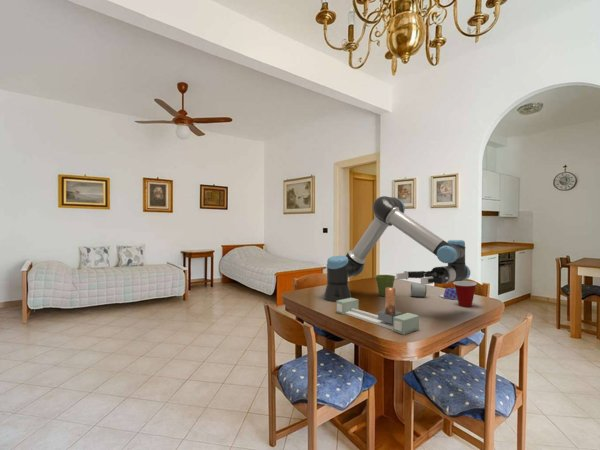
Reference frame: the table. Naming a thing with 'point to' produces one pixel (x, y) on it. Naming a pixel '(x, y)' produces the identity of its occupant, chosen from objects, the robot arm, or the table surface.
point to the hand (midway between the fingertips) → (408, 278)
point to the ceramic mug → (418, 290)
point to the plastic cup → (465, 292)
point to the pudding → (450, 293)
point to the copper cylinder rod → (389, 306)
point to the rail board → (400, 323)
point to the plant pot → (384, 283)
